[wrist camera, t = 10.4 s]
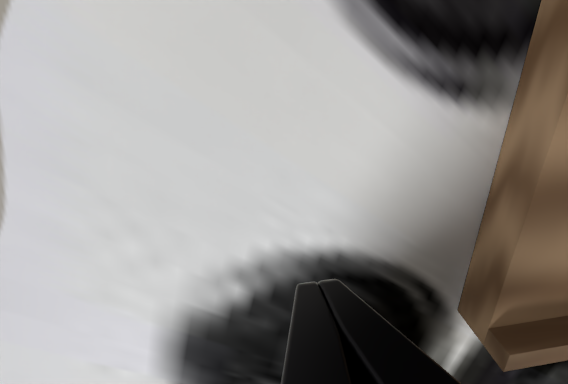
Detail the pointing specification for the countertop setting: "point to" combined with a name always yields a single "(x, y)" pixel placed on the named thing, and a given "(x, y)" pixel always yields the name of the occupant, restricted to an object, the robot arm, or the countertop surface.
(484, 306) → the trap box
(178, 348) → the countertop surface
